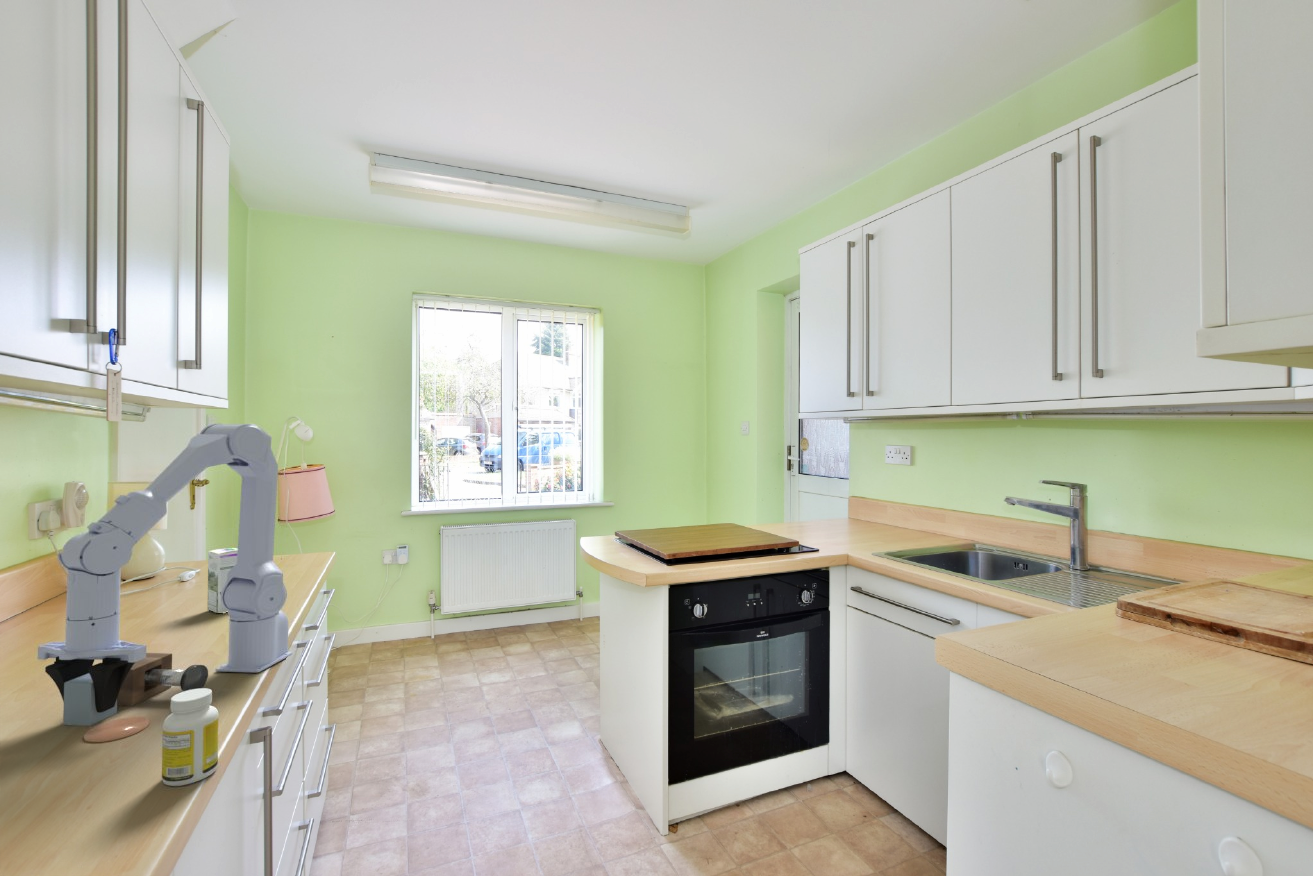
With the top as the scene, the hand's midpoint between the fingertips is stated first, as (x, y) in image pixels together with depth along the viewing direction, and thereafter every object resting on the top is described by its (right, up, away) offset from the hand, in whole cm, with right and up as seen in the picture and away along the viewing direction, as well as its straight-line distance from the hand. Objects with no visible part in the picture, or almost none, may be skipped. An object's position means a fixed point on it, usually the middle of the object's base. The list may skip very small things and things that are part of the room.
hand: (90, 709), depth 86 cm
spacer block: (0, -1, 0) cm, 1 cm away
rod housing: (-1, -2, +8) cm, 8 cm away
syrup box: (-21, -2, +56) cm, 60 cm away
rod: (+5, -1, +8) cm, 10 cm away
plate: (+7, -2, -3) cm, 8 cm away
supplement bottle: (+25, -2, -14) cm, 29 cm away
